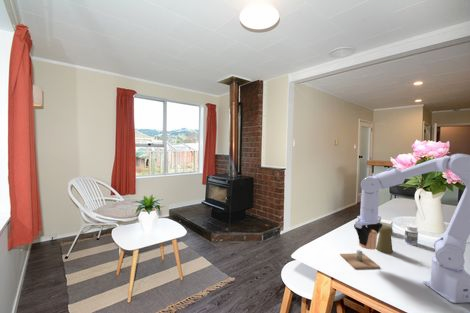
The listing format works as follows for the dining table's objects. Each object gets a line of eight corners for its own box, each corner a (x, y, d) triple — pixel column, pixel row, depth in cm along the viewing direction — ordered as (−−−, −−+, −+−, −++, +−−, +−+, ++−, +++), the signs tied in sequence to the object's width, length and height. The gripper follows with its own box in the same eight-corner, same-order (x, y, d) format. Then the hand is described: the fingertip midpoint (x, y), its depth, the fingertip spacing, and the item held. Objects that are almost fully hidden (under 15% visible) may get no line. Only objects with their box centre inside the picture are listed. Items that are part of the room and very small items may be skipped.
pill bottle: (404, 239, 106) (405, 223, 105) (417, 242, 103) (418, 225, 102) (404, 243, 102) (405, 226, 101) (417, 246, 99) (418, 228, 98)
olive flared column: (395, 254, 92) (397, 229, 91) (379, 253, 93) (381, 228, 92) (388, 247, 97) (389, 224, 97) (373, 246, 99) (374, 223, 98)
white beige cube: (376, 232, 115) (376, 221, 115) (378, 229, 119) (379, 218, 119) (389, 235, 111) (390, 224, 110) (392, 232, 115) (392, 221, 115)
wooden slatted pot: (379, 249, 80) (380, 233, 80) (365, 249, 80) (366, 234, 80) (369, 242, 86) (370, 227, 86) (355, 242, 86) (356, 228, 85)
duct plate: (380, 268, 81) (380, 257, 81) (354, 269, 81) (355, 258, 80) (362, 254, 91) (363, 245, 91) (340, 255, 91) (340, 245, 90)
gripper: (368, 202, 89) (366, 234, 90) (348, 207, 82) (346, 242, 83) (387, 207, 83) (385, 241, 84) (367, 213, 76) (365, 250, 77)
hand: (367, 242), depth 83 cm, fingers closed on wooden slatted pot, 6 cm apart
